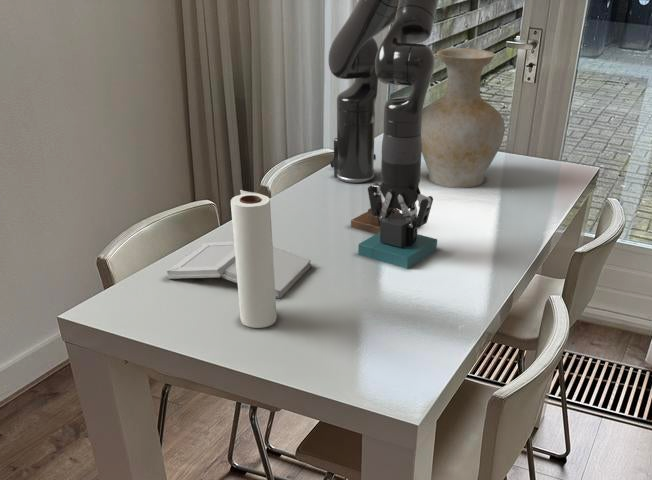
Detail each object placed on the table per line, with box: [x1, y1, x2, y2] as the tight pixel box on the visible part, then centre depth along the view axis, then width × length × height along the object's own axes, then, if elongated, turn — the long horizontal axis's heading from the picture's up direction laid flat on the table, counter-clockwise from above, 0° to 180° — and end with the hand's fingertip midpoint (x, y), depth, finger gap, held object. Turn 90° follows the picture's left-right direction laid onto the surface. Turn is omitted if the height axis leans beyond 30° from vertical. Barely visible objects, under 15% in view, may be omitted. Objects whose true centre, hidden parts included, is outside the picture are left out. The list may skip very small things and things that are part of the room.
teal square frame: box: [357, 232, 438, 270], centre depth 156 cm, size 12×12×2 cm
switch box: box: [350, 207, 401, 235], centre depth 167 cm, size 11×9×4 cm
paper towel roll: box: [230, 189, 278, 329], centre depth 125 cm, size 7×6×21 cm
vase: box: [421, 47, 506, 189], centre depth 189 cm, size 22×22×30 cm
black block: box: [380, 212, 408, 248], centre depth 154 cm, size 5×6×7 cm
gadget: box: [166, 241, 312, 299], centre depth 145 cm, size 23×15×4 cm, turn 73°
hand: (398, 240), depth 155 cm, fingers closed on black block, 5 cm apart
